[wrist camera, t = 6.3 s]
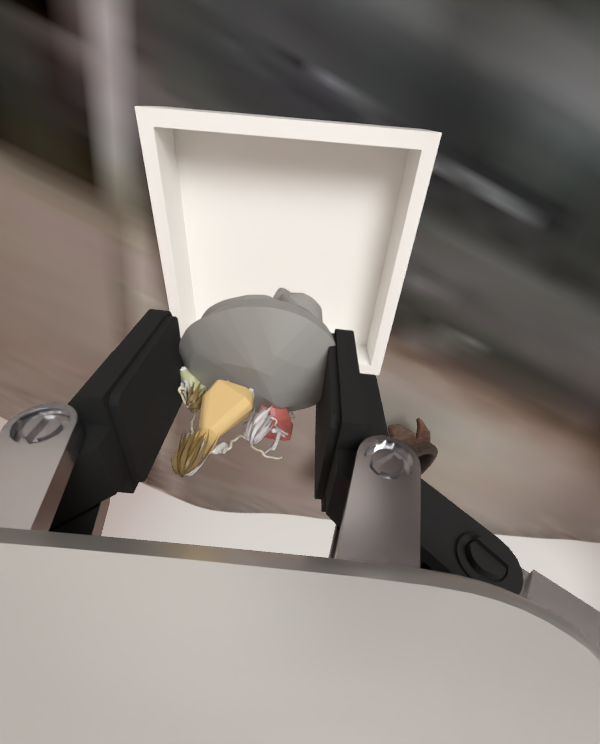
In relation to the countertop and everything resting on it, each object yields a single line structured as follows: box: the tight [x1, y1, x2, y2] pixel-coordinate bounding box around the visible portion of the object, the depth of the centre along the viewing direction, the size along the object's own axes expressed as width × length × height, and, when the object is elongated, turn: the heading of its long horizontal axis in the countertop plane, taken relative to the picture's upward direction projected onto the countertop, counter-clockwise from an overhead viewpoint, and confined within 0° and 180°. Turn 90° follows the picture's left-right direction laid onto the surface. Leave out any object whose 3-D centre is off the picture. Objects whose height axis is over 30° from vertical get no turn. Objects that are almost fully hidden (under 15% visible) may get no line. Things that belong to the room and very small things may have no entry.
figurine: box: [171, 288, 336, 477], centre depth 10 cm, size 5×4×6 cm
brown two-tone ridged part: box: [388, 418, 438, 474], centre depth 35 cm, size 12×9×8 cm
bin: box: [135, 106, 442, 375], centre depth 24 cm, size 16×16×4 cm
